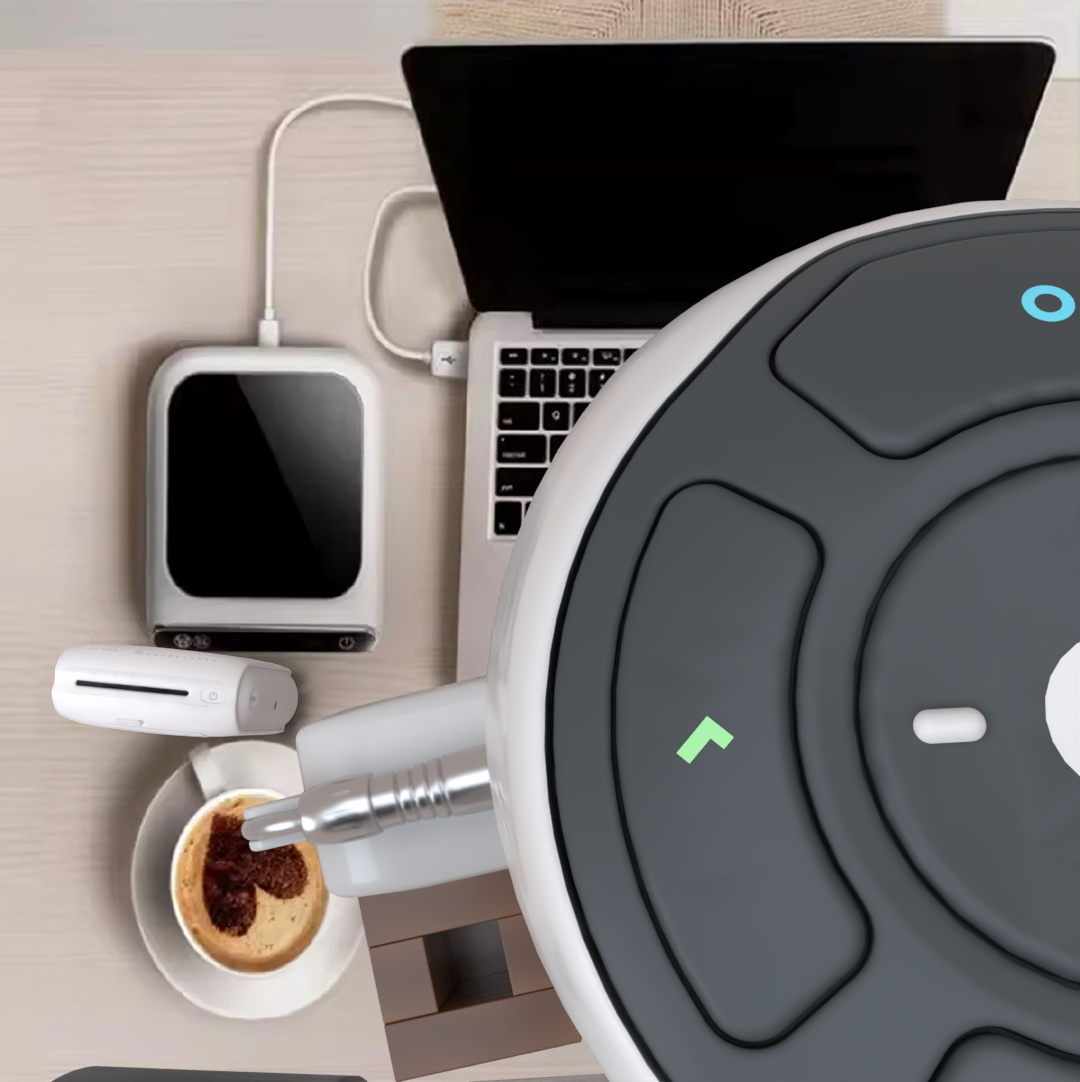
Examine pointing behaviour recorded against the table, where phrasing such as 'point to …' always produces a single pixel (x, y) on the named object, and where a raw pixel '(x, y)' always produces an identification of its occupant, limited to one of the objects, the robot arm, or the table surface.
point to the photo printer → (172, 691)
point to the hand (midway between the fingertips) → (738, 703)
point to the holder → (460, 977)
